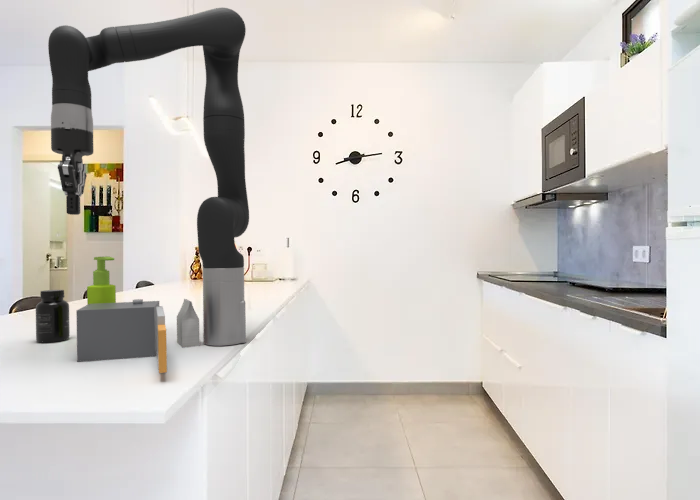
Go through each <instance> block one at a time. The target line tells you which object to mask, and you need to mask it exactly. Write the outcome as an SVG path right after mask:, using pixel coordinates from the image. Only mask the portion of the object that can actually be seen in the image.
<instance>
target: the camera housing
mask: <svg viewBox="0 0 700 500" xmlns="http://www.w3.org/2000/svg"><path fill="white" fill-rule="evenodd" d="M158 306H160V300H152V301H150V300H148V301H144V300H143V299H141V298H138V299H132V301H123V302H121V301H120V302H116V303H95V304H88V305H87V304H86V305H85V306H82V307H81V308H78V309H76V314H75V315H76V355H77V356H76V358H77V363H79V362H94V361H105V360H106V361H109V360H121V359H122V360H123V358H124V359H133V358H136V357H138V358H148V357H150V356H151V357H156V356H157V316H156V307H158ZM151 357H150V358H151ZM136 359H137V358H136Z"/></svg>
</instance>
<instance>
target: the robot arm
mask: <svg viewBox="0 0 700 500" xmlns="http://www.w3.org/2000/svg"><path fill="white" fill-rule="evenodd" d="M246 31H247V28H246V23H245V21H244V19H243V18H242V16H241V15H240V14H239V13H238V12H236V11H235V10H233V9H231V8H228V7H215V8H212V9H208V10H205V11H201V12H198V13H194V14H190V15H185V16H182V17H177V18H173V19H167V20H161V21H157V22H155V21H154V22H148V23H138V24H129V25H116V26H109V27H105V28H102V29H101V31H100V32H99V34H97V35H92V36H87V37H86V36H85V35H84V33H82V31H80V30H79V29H78V28H76V27H75V26H71V25H67V24H66V25H59V26H56V27H55V28H54V29H53V30H52V31H51V33H50V35H49V36H48V37H49V38H48V44H47V45H48V46H47V47H48V58H49V65H50V73H51V78H52V79H51V81H52V82H51V84H52V85H51V112H50V113H51V114H50V140H51V141H50V145H51V146H50V149H51V151H52V152H54V153H56V154H59V155H61V160H60V161H59V164H57V171H58V175H59V179H60V184H61V190H62V192H63V193H64V196H65V197H66V198H65V200H66V201H65V202H66V207H65V208H66V214H67V215H71V216H72V215H73V216H74V215H75V216H79V215H80V214H81V197H82V196H83V195H84V191H85V187H86V180H87V171H86V163H83V160H84V159H83V157H85V156H86V157H88V156H92V155H93V154H94V118H93V112H92V111H93V109H92V90H91V89H92V88H91V85H90V81H89V72H91V71H96V70H99V69H103V68H105V67H108V66H112V65H114V64H120V63H122V64H123V63H130V62H138V61H139V62H140V61H147V60H151V59H154V58H158V57H160V56H163V55H166V54H169V53H172V52H175V51H177V50H181V49H185V48H190V47H200V46H202V51H203V58H204V67H205V68H204V69H205V87H204V88H205V89H204V95H203V96H204V98H203V118H202V121H203V141H204V146H205V149H206V152H207V154H208V157H209V160H210V161H211V165H212V167H213V169H214V172H215V176H216V183H217V196H211V197H207V198H206V199H204V200H203V201H202V203H201V204H200V205H199V208H198V212H197V216H196V232H197V249H198V254H199V257H200V259H201V261H202V305H203V306H202V311H203V312H202V318H203V321H202V324H203V326H202V327H203V328H202V329H203V333H202V335H203V344H204V345H207V346H220V347H221V346H233V345H237V344H243V343H244V344H245V343H246V342H247V338H246V336H247V335H246V334H247V333H246V332H247V331H246V330H247V328H246V326H247V325H246V320H247V319H246V300H245V259H244V256H243V254H242V253H241V252H240V251H238V249H237V247H236V243H235V238H239V237H240V236H242V235H243V234H244V233H246V231H247V229H248V227H249V223H250V210H249V209H250V207H249V201H248V200H249V199H248V191H247V183H246V182H247V181H246V153H245V151H246V150H245V142H246V141H245V135H246V134H245V133H246V132H245V131H246V130H245V129H246V128H245V112H244V105H243V101H242V95H241V92H240V88H239V61H240V60H239V59H240V53H241V49H242V45H243V43H244V40H245V38H246Z"/></svg>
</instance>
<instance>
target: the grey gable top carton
mask: <svg viewBox="0 0 700 500" xmlns="http://www.w3.org/2000/svg"><path fill="white" fill-rule="evenodd" d="M200 341H201V340H200V318H199V316H198V314H197V312H196V310H195V308H194V306H193V302H192V301H191V300H190V299H187V298H183V303H182V305H181V307H180V309H179V311H178V313H177V315H176V343H177V344H178V345H179V346H180V347H181V348H191V347H200Z"/></svg>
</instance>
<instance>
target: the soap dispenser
mask: <svg viewBox="0 0 700 500" xmlns="http://www.w3.org/2000/svg"><path fill="white" fill-rule="evenodd" d="M93 260H94V261H96V269H95V270H93V271H92V275H93V276H92V279H93V281H92V282H93V283H92V284H91V285H88V286H87V290H86V292H87V293H86V295H87V297H86V298H87V302H86V303H87V304H86V305H88V304H95V303H117V302H116V300H117V297H116V293H117V292H116V291H117V288H116V287H117V286H116V285H115V284H110V282H111V281H110V270H108V269H107V268H106V261H115V258H114V257H112V256H107V255H105V256H94V257H93Z"/></svg>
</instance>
